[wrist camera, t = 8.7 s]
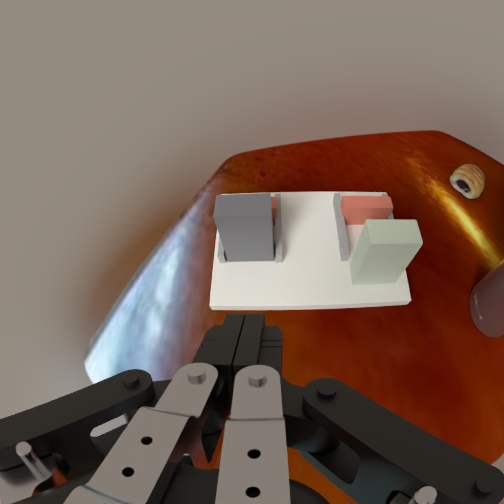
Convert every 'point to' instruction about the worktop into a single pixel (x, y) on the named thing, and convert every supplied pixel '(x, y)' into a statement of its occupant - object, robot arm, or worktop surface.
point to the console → (308, 257)
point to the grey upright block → (245, 226)
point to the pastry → (468, 180)
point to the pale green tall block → (384, 251)
